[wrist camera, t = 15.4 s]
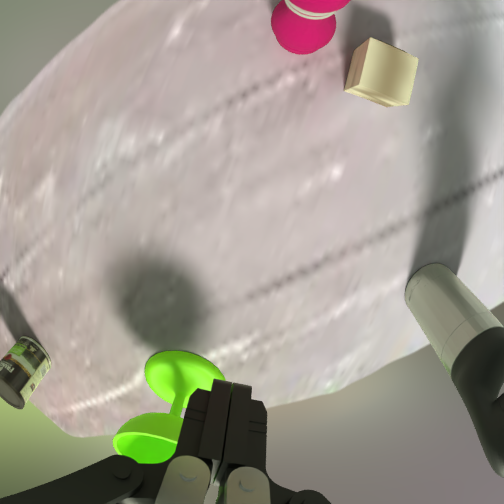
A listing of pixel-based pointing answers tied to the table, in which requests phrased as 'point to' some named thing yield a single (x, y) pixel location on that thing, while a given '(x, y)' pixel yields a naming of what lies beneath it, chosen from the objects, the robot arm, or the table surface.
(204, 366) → the wineglass
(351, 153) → the table surface
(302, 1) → the pepper mill
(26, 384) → the coffee can
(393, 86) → the pale yellow cube-like block
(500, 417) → the robot arm
